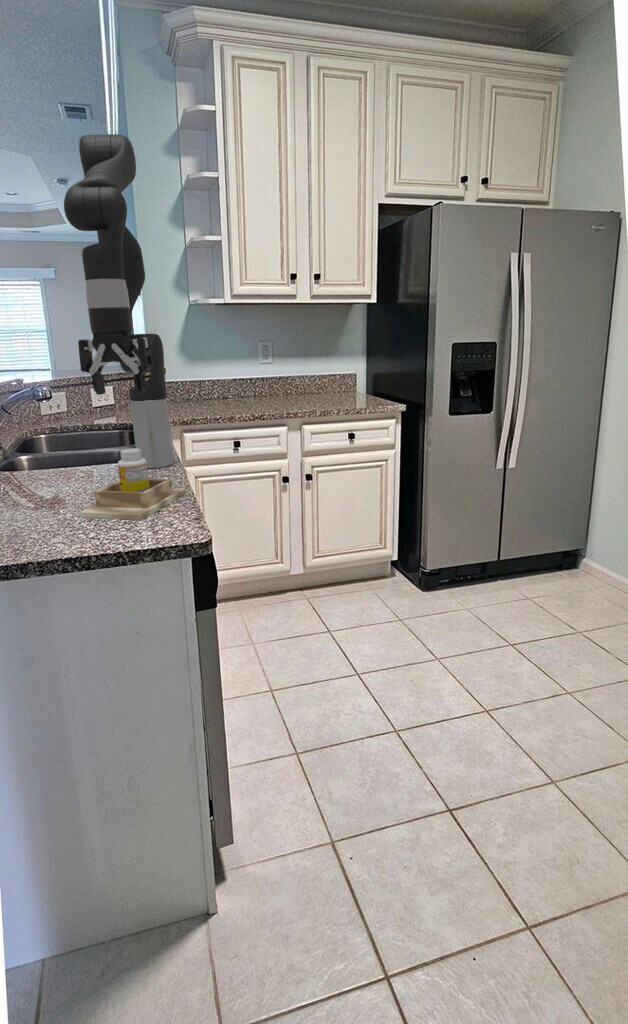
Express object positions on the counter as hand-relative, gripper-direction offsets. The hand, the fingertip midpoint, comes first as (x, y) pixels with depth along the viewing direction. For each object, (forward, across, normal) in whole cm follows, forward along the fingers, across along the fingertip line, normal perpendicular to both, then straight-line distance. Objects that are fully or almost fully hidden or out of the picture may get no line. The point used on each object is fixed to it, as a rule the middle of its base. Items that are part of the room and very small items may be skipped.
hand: (120, 393), depth 119 cm
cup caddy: (+22, -1, +1) cm, 22 cm away
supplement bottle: (+21, -1, +1) cm, 21 cm away
